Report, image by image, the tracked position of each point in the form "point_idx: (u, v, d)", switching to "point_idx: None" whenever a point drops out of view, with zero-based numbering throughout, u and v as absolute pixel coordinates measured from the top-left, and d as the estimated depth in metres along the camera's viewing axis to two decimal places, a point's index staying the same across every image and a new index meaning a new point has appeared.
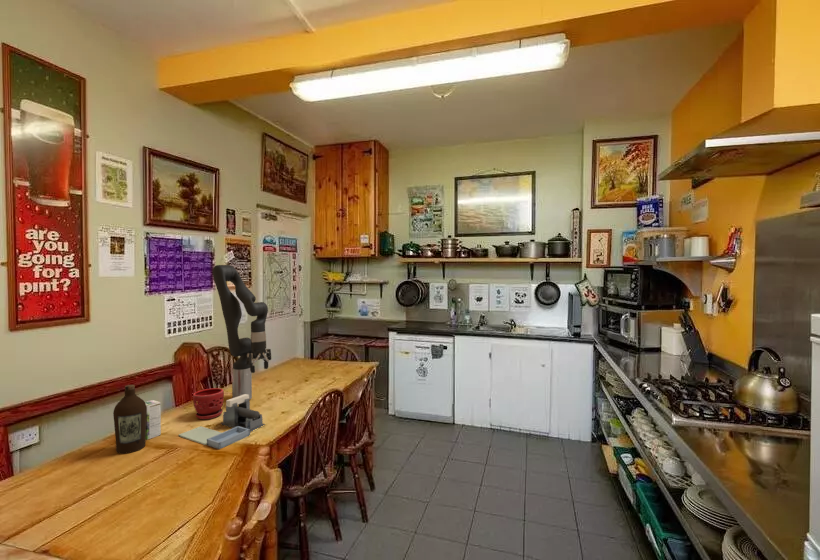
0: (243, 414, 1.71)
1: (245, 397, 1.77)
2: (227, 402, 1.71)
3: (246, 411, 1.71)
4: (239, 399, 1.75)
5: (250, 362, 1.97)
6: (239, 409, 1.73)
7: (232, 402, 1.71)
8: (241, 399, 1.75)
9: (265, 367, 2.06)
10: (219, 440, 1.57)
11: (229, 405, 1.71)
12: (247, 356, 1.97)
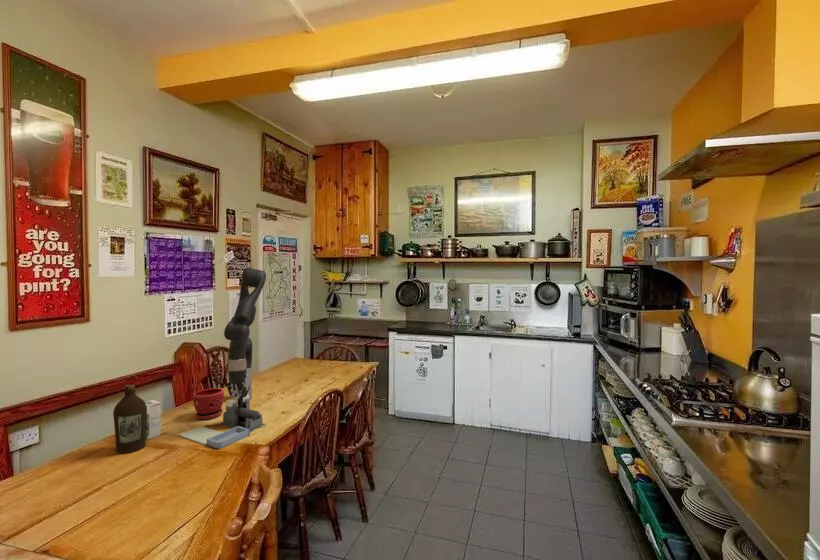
0: (243, 414, 1.71)
1: (245, 397, 1.77)
2: (227, 402, 1.71)
3: (246, 411, 1.71)
4: None
5: None
6: (239, 409, 1.73)
7: (232, 402, 1.71)
8: None
9: None
10: (219, 440, 1.57)
11: (229, 405, 1.71)
12: (245, 390, 1.72)
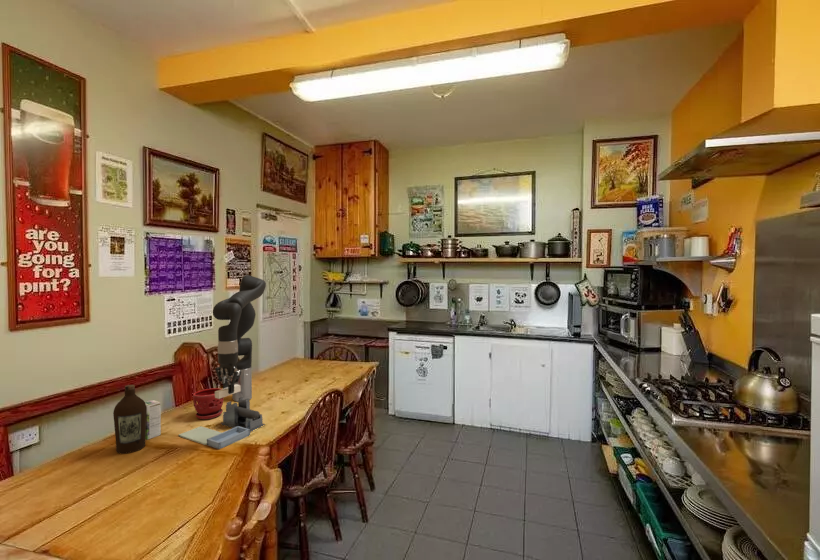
0: (243, 414, 1.71)
1: (236, 388, 1.60)
2: (216, 393, 1.54)
3: (246, 411, 1.71)
4: None
5: None
6: (239, 409, 1.73)
7: (221, 393, 1.54)
8: None
9: None
10: (219, 440, 1.57)
11: (218, 396, 1.54)
12: (237, 375, 1.55)
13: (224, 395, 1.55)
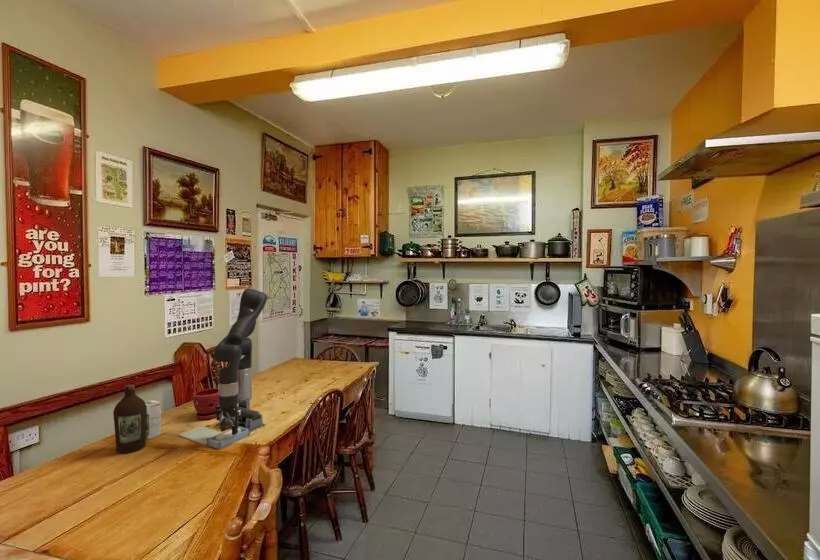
0: (243, 414, 1.71)
1: None
2: (216, 439, 1.55)
3: (246, 411, 1.71)
4: (230, 434, 1.58)
5: None
6: (239, 409, 1.73)
7: (222, 439, 1.55)
8: None
9: (223, 429, 1.60)
10: None
11: None
12: (238, 414, 1.55)
13: None
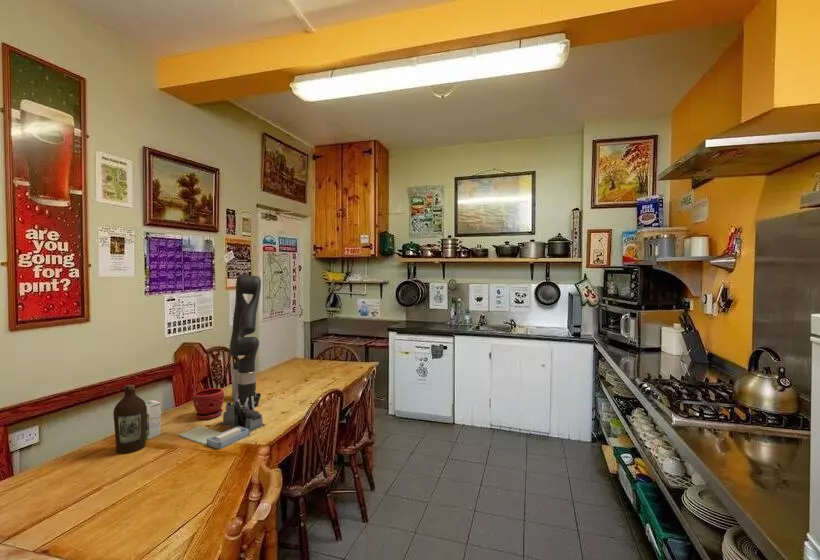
0: None
1: (237, 432, 1.61)
2: (216, 439, 1.55)
3: (246, 411, 1.71)
4: (230, 434, 1.58)
5: None
6: None
7: (222, 439, 1.55)
8: (232, 434, 1.59)
9: None
10: None
11: None
12: None
13: None
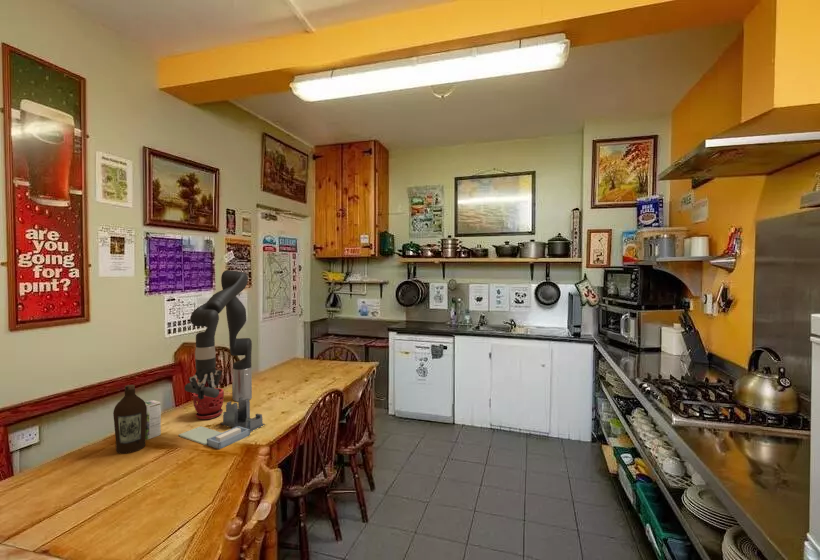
0: None
1: (237, 432, 1.61)
2: (216, 439, 1.55)
3: (205, 389, 1.60)
4: (230, 434, 1.58)
5: None
6: None
7: (222, 439, 1.55)
8: (232, 434, 1.59)
9: None
10: None
11: None
12: None
13: None
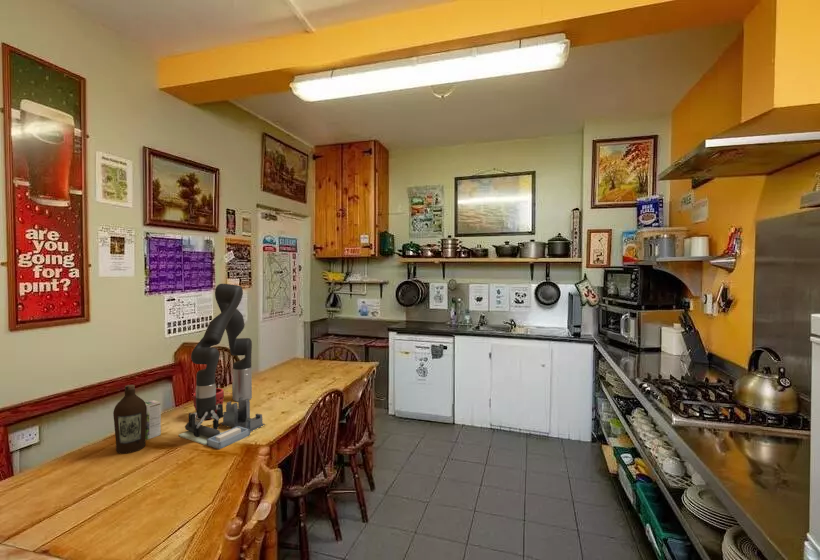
0: (202, 432, 1.60)
1: (237, 432, 1.61)
2: (216, 439, 1.55)
3: (205, 429, 1.60)
4: (230, 434, 1.58)
5: None
6: None
7: (222, 439, 1.55)
8: (232, 434, 1.59)
9: None
10: None
11: None
12: None
13: None
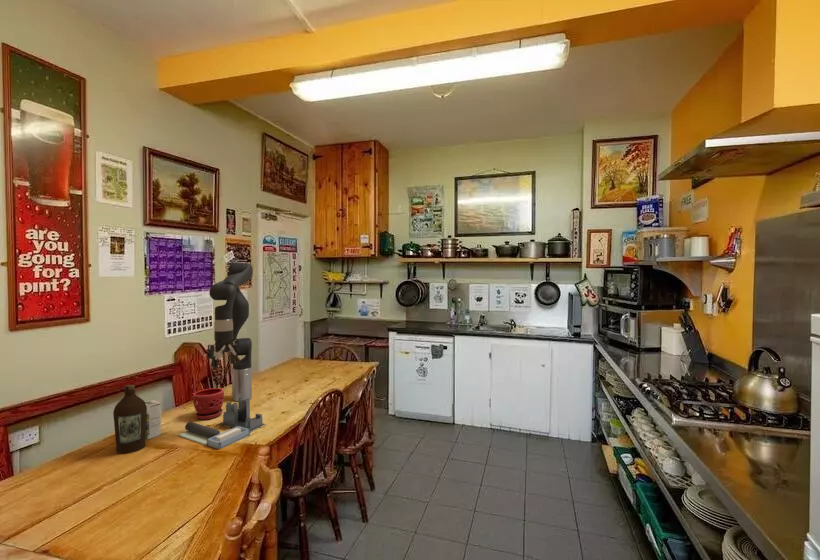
0: (202, 433, 1.60)
1: (237, 432, 1.61)
2: (216, 439, 1.55)
3: (205, 429, 1.60)
4: (230, 434, 1.58)
5: None
6: (198, 427, 1.63)
7: (222, 439, 1.55)
8: (232, 434, 1.59)
9: None
10: None
11: None
12: None
13: None
